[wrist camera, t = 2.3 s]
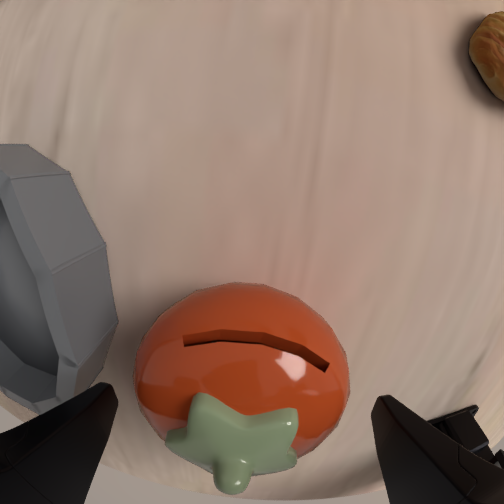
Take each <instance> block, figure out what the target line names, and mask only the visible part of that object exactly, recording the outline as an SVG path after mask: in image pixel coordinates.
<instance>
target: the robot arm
mask: <svg viewBox="0 0 504 504" xmlns="http://www.w3.org/2000/svg"><path fill="white" fill-rule="evenodd" d="M117 408H118V399H117V397H116V394H115V391H114V389H113V386H112V385H111V384H108V383H104V382H100V383H98V384H96V385H95V386H93V387H91V388H89V389H87V390H86V391H84V392H82V393H80V394H78V395H76V396H75V397H73V398H71V399H69V400H67V401H65V402H64V403H62V404H60V405H58V406H56V407H54V408H52V409H50V410H49V411H47V412H45V413H43V414H41V415H39V416H37V417H35V418H33V419H31V420H29V422H28V421H27V422H25V423H23V424H21V425H19V426H17V427H15V428H13V429H11V430H8V431H6V432H3V433H0V504H84V502H85V499H86V496H87V493H88V491H89V488H90V485H91V482H92V480H93V477H94V475H95V472H96V469H97V467H98V464H99V462H100V459H101V456H102V454H103V451H104V449H105V446H106V444H107V441H108V439H109V435H110V432H111V428H112V425H113V421H114V418H115V414H116V411H117ZM478 409H479V408H478V406H477V405H473V406H471V407H468V408H466V409H463V410H461V411H458V412H455V413H452V414H450V415H447V416H444V417H441V418H438V419H434V420H431V421H428V422H427V421H425V420H424V419H423V418H421V417H420V416H418V415H417V414H416V413H414V412H413V411H412V410H410V409H409V408H407V407H406V406H405V405H403V404H402V403H401V402H399V401H398V400H397V399H395V398H394V397H392V396H391V395H383V396H379V397H378V398H377V400H376V402H375V405H374V407H373V410H372V412H371V420H372V426H373V432H374V438H375V445H376V451H377V455H378V459H379V463H380V467H381V470H382V474H383V478H384V482H385V486H386V490H387V494H388V498H389V502H390V504H504V451H503V450H501V449H500V450H499V451H498V452H497V453H496V454H495V456H494V455H493V453H492V451H491V450H490V448H489V446H488V444H489V440H488V439H487V437H486V435H485V434H484V432H483V431H482V429H481V428H480V426H479V425H478V423H477V422H476V420H475V419H474V416H475V414H476V412H477V411H478Z"/></svg>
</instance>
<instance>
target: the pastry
mask: <svg viewBox="0 0 504 504" xmlns="http://www.w3.org/2000/svg"><path fill="white" fill-rule="evenodd" d="M469 55H470V57H471V60H472V62H473V63H474V64H475V66H476V67H477V69H478V71H479V73H480V74H481V76H482V78H483V80H484V81H485V83H486V84H487V86H488V87H489V88H490V90H491V91H492V93H493V94H494V95H495V96H496V97H497V98H499V99H501V100H503V101H504V12H502V11H501V12H495V13H494V14H489V15H487V17H486V18H485V19H484V20H483V22H482V23H481V25H480V26H479V27H478V29H477V30H476V31H475V33H474V34H473V35H472V37H471V39H470V46H469Z"/></svg>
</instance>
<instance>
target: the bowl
mask: <svg viewBox="0 0 504 504" xmlns="http://www.w3.org/2000/svg"><path fill="white" fill-rule="evenodd" d="M118 321H119V320H118V319H117V314H116V309H115V304H114V299H113V293H112V287H111V281H110V274H109V267H108V260H107V252H106V243H105V242H104V240H103V239H102V237H101V235H100V233H99V231H98V230H97V228H96V226H95V224H94V222H93V220H92V218H91V216H90V215H89V213H88V211H87V209H86V207H85V205H84V203H83V201H82V199H81V197H80V195H79V192H78V190H77V188H76V186H75V184H74V182H73V180H72V177H71V175H70V173H69V171H66V170H65V169H63V168H61V167H60V166H58V165H57V164H55V163H54V162H52V161H51V160H49V159H48V158H46V157H45V156H43V155H42V154H40V153H39V152H37V151H36V150H34V149H33V148H31V147H30V146H29V145H27V144H0V390H1V391H2V392H3V393H4V394H5V395H6V396H7V397H9V398H10V399H12V400H14V401H15V402H17V403H19V404H21V405H22V406H24V407H26V408H28V409H30V410H32V411H33V412H35V413H37V414H39V415H41V414H43V413H45V412H47V411H49V410H50V409H52V408H54V407H56V406H58V405H60V404H62V403H64V402H65V401H67V400H69V399H71V398H73V397H75V396H76V395H78V394H80V393H82V392H84V391H86V390H87V389H88V388H89V387H90V385H91V384H92V382H93V381H94V380H95V378H96V377H97V375H98V374H99V373H100V371H101V370H102V369H103V365H104V362H105V358H106V355H107V352H108V349H109V346H110V343H111V340H112V337H113V335H114V332H115V329H116V326H117V324H118Z"/></svg>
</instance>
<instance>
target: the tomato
mask: <svg viewBox="0 0 504 504" xmlns="http://www.w3.org/2000/svg"><path fill="white" fill-rule="evenodd" d="M133 382H134V390H135V394H136V397H137V401H138V405H139V408H140V411H141V413H142V414H143V415H144V417H145V418H146V420H147V421H148V423H149V424H150V425H151V427H152V428H153V429H154V431H155V432H156V433H157V434H158V436H159V437H160V438H161V439H162V440H164V441H165V445H166V447H167V448H168V449H169V450H171V451H172V452H173V453H175V454H176V455H178V456H180V457H181V458H183V459H185V460H187V461H189V462H191V463H193V464H195V465H197V466H199V467H201V468H202V469H204V470H206V471H208V472H209V473H211V474H213V479H214V483H215V486H216V488H217V489H218V490H219V491H221V492H223V493H225V494H229V495H235V494H239V493H242V492H243V491H244V490H245V489H246V488H247V486H248V484H249V482H250V479H251V476H258V475H265V474H271V473H277V472H281V471H285V470H288V469H290V468H293V467H294V466H295V465H296V464H297V459H298V458H300V457H302V456H304V455H306V454H308V453H309V452H311V451H313V450H314V449H315V448H316V447H318V446H319V445H320V444H321V443H322V442H323V441H324V440H325V439H326V438H327V437H328V436H329V435H330V434H331V433H332V432H333V430H334V429H335V428H336V427H337V426H338V424H339V421H340V419H341V417H342V414H343V412H344V410H345V407H346V404H347V401H348V398H349V395H350V381H349V368H348V363H347V357H346V353H345V351H344V349H343V347H342V346H341V344H340V342H339V340H338V339H337V337H336V335H335V333H334V332H333V330H332V328H331V327H330V326H329V324H328V323H327V322H326V321H325V320H324V318H323V317H322V316H321V315H320V314H318V313H317V312H316V311H314V310H313V309H312V308H311V307H309V306H308V305H307V304H305V303H304V302H303V301H302V300H300V299H299V298H298V297H295V296H293V295H291V294H288V293H286V292H283V291H280V290H278V289H275V288H273V287H270V286H267V285H265V284H257V283H242V282H232V283H227V284H223V285H218V286H213V287H209V288H204V289H200V290H196V291H195V292H193V293H191V294H190V295H188V296H186V297H185V298H183V299H181V300H180V301H178V302H176V303H175V304H173V305H171V306H170V307H169V308H168V309H167V310H165V311H164V312H163V313H162V314H161V315H159V317H158V318H157V319H156V321H155V322H154V323H153V325H152V326H151V327H150V328H149V330H148V331H147V332H146V334H145V335H144V336H143V338H142V341H141V343H140V346H139V348H138V351H137V354H136V360H135V365H134V371H133Z"/></svg>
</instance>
